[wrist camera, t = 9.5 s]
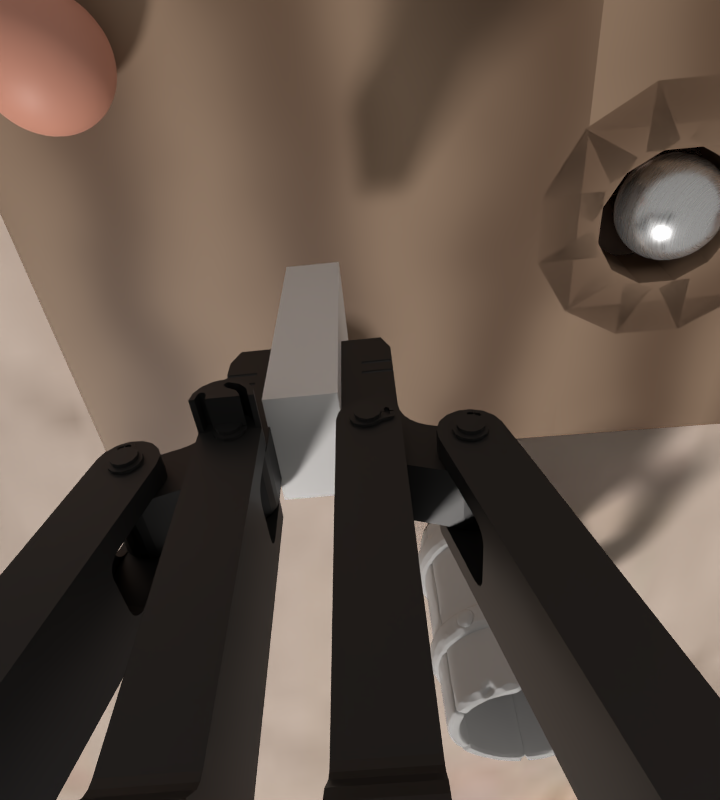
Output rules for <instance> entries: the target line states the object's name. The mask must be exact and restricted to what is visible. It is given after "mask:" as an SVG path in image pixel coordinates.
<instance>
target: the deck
mask: <svg viewBox="0 0 720 800" xmlns="http://www.w3.org/2000/svg"><path fill="white" fill-rule="evenodd" d="M75 1H76V2H77V3H79V4H80V5H81V6H82V7H83V8H84V9H86V10H87V11H88V12H89V14H90V15H91V16H92V17H93V18H94V19H95V20H96V22H97V23H98V24H99V26H100V27H101V28H102V30H103V32H104V33H105V35H106V37H107V39H108V41H109V43H110V45H111V48H112V51H113V54H114V58H115V62H116V70H117V86H116V92H115V96H114V99H113V101H112V104H111V106H110V108H109V110H108V111H107V113H106V114H105V116H104V117H103V118H102V119H101V120H100V121H99V122H98V123H97V124H95V125H94V126H93V127H91V128H90V129H88V130H86V131H84V132H81V133H78V134H75V135H71V136H60V137H53V136H45V135H41V134H37V133H34V132H31V131H28V130H26V129H24V128H22V127H20V126H18V125H16V124H14V123H13V122H11V121H10V120H8V119H7V118H6V117H4V116H3V115H2V114H1V113H0V214H1V216H2V218H3V221H4V223H5V225H6V227H7V230H8V232H9V234H10V236H11V239H12V241H13V243H14V245H15V248H16V250H17V252H18V254H19V257H20V259H21V261H22V263H23V266H24V268H25V270H26V272H27V275H28V277H29V279H30V281H31V284H32V286H33V288H34V290H35V293H36V295H37V297H38V299H39V302H40V304H41V306H42V308H43V311H44V313H45V315H46V317H47V320H48V322H49V324H50V326H51V329H52V331H53V333H54V335H55V338H56V340H57V342H58V344H59V347H60V349H61V351H62V353H63V356H64V358H65V360H66V362H67V365H68V367H69V369H70V371H71V374H72V376H73V378H74V380H75V383H76V385H77V387H78V389H79V392H80V394H81V396H82V398H83V401H84V403H85V405H86V407H87V410H88V412H89V414H90V416H91V419H92V421H93V423H94V425H95V427H96V430H97V432H98V434H99V436H100V439H101V441H102V443H103V445H104V448H105V450H106V451H108V450H110V449H112V448H114V447H116V446H118V445H121V444H124V443H128V442H133V441H145V442H149V443H153V444H154V445H155V446H156V447H157V448H159V451H160V454H165V453H168V452H171V451H175V450H178V449H181V448H184V447H186V446H189V445H191V444H193V443H195V442H196V439H197V436H198V431H197V427H196V424H195V421H194V418H193V415H192V412H191V408H190V405H189V402H188V400H189V398H190V397H191V395H192V394H193V393H194V392H195V391H197V390H198V389H199V388H201V387H202V386H204V385H207V384H209V383H212V382H214V381H219V380H224V379H226V378H227V374H228V371H229V367H230V364H231V363H232V362H233V361H234V360H235V358H236V357H237V356H238V355H239V354H240V353H241V352H247V351H258V350H268V349H271V347H272V342H273V337H274V331H275V326H276V321H277V315H278V310H279V305H280V299H281V294H282V289H283V283H284V278H285V273H286V267H294V266H304V265H314V264H324V263H334V262H339V268H340V276H341V284H342V292H343V300H344V309H345V317H346V325H347V333H348V340H358V339H368V338H379V337H381V338H382V339H383V340H384V341H385V342H386V343H387V344H388V345H389V346H390V348H391V356H392V363H393V371H394V379H395V387H396V394H397V402H398V406H399V409H400V411H401V412H402V413H403V415H404V416H406V417H407V418H409V419H410V420H413V421H415V422H418V423H422V424H427V425H434V426H438V423H439V421H440V420H441V419H442V418H444V417H445V416H446V415H447V414H450V413H453V412H455V411H458V410H467V409H474V410H482V411H485V412H488V413H491V414H493V415H495V416H496V417H497V418H499V419H500V420H501V421H502V422H503V423H504V424H505V426H506V427H507V428H508V429H509V431H510V432H511V433H512V434H513V436H514V437H515V438H516V439H518V438H531V437H545V436H558V435H572V434H585V433H599V432H612V431H626V430H639V429H652V428H666V427H679V426H693V425H706V424H720V229H719V231H718V232H717V233H716V235H715V236H714V237H713V238H712V239H711V240H710V241H709V242H708V243H707V244H706V245H705V246H703V247H702V248H700V249H699V250H697V251H696V252H694V253H692V254H690V255H687V256H684V257H681V258H677V259H672V260H654V259H650V258H646V257H643V256H641V255H639V254H627V255H616V256H615V255H613V254H611V253H609V252H607V251H605V250H602V249H601V248H600V246H599V244H598V239H599V232H600V225H601V218H602V210H603V207H604V205H605V204H606V203H607V201H608V200H609V198H610V197H611V195H612V194H613V192H614V191H615V190H616V188H617V187H618V185H619V184H620V182H621V181H622V179H623V178H624V176H625V175H626V174H627V173H628V172H630V171H631V170H633V169H635V168H636V167H638V166H639V165H641V164H643V163H644V162H646V161H647V160H649V159H651V158H652V157H654V156H655V155H657V154H659V153H660V152H662V151H664V150H672V149H682V148H692V147H699V150H700V152H701V155H702V157H703V158H705V159H707V160H708V161H710V162H711V163H712V164H714V165H715V166H716V167H717V168H718V169H719V171H720V0H75Z"/></svg>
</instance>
